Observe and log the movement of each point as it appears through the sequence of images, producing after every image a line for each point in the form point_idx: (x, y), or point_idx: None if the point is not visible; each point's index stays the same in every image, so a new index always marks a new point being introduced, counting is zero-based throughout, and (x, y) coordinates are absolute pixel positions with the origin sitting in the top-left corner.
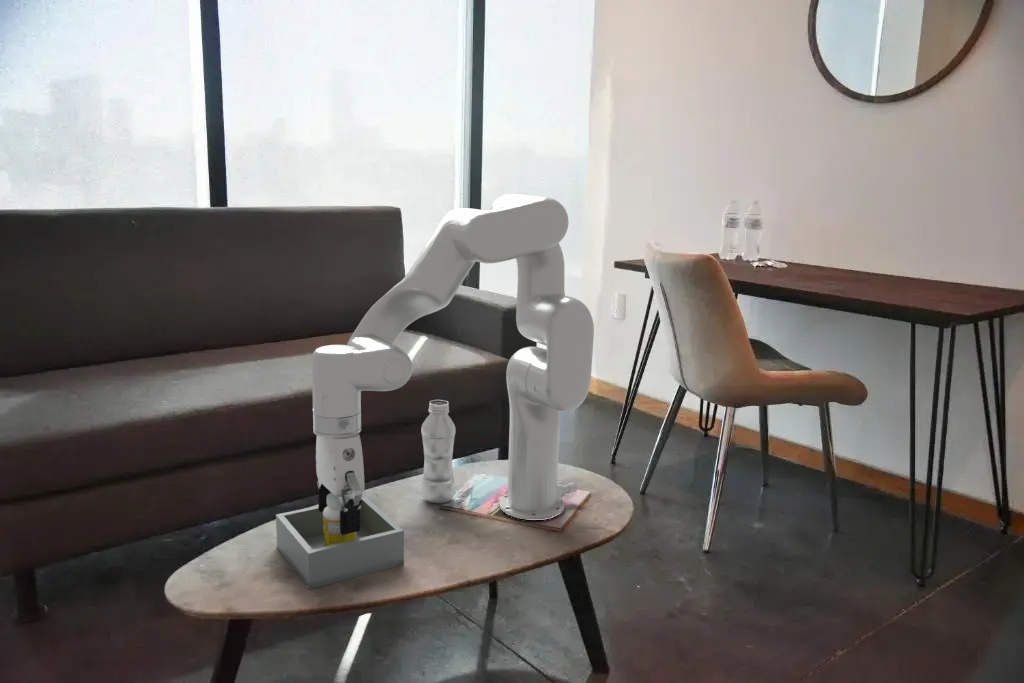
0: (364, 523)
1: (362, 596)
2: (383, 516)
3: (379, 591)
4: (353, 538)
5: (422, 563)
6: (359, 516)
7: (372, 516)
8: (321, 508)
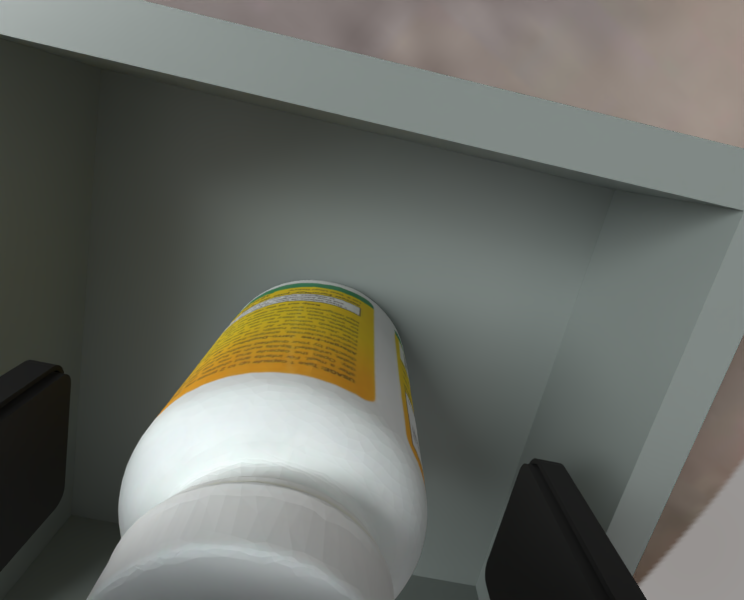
0: (131, 74)
1: (698, 478)
2: (454, 119)
3: (730, 407)
4: (404, 368)
5: (719, 66)
6: (610, 550)
7: (251, 97)
8: (45, 514)
